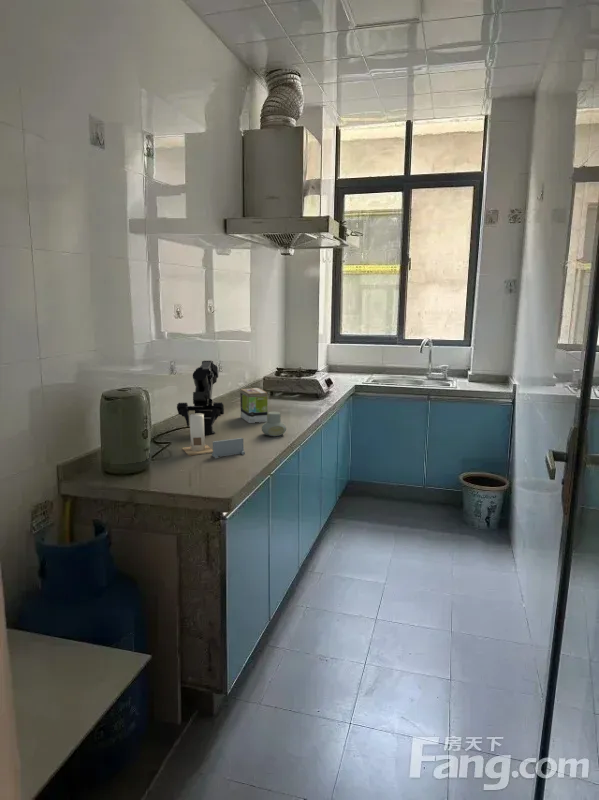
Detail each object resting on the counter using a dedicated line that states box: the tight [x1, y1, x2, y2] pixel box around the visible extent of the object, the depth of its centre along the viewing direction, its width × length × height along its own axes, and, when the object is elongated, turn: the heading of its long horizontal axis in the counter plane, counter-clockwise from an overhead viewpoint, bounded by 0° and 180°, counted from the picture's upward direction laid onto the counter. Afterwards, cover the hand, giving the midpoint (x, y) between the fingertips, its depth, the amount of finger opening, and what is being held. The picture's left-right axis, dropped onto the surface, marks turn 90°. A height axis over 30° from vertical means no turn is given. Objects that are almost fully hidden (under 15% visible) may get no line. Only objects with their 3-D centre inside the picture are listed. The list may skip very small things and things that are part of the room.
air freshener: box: [261, 411, 287, 437], centre depth 236 cm, size 11×8×10 cm
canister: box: [189, 412, 206, 451], centre depth 211 cm, size 6×6×14 cm
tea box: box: [239, 387, 269, 424], centre depth 264 cm, size 15×10×15 cm, turn 22°
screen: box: [211, 437, 246, 459], centre depth 207 cm, size 4×12×6 cm, turn 117°
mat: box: [182, 444, 213, 457], centre depth 212 cm, size 10×10×1 cm
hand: (199, 426), depth 217 cm, fingers open, 9 cm apart
